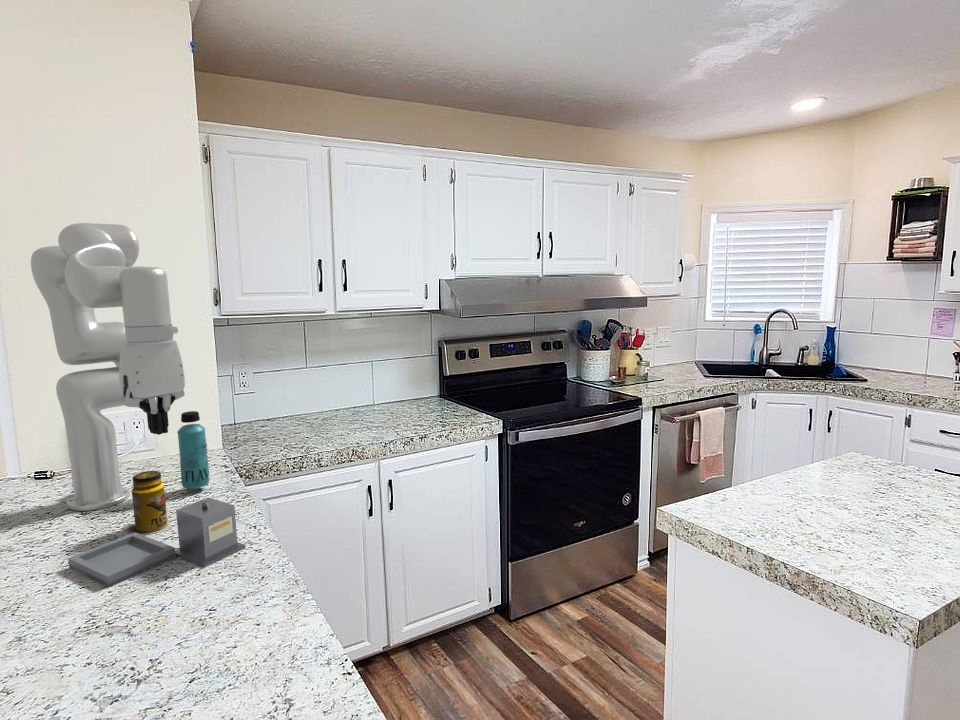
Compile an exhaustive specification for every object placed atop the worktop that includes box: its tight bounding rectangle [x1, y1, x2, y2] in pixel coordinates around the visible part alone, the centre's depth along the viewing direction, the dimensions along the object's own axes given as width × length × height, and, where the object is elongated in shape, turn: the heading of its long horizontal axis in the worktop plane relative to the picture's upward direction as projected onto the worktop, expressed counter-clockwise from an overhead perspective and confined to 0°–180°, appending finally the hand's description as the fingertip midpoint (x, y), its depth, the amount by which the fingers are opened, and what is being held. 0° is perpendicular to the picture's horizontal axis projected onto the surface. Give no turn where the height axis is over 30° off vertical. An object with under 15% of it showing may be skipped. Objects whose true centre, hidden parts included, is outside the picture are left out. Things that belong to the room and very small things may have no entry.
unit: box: [175, 497, 246, 568], centre depth 115 cm, size 10×9×10 cm
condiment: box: [122, 470, 172, 536], centre depth 126 cm, size 7×8×12 cm
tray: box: [67, 532, 177, 588], centre depth 112 cm, size 13×12×2 cm
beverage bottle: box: [176, 410, 211, 490], centre depth 147 cm, size 6×7×20 cm
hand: (159, 432), depth 111 cm, fingers closed
